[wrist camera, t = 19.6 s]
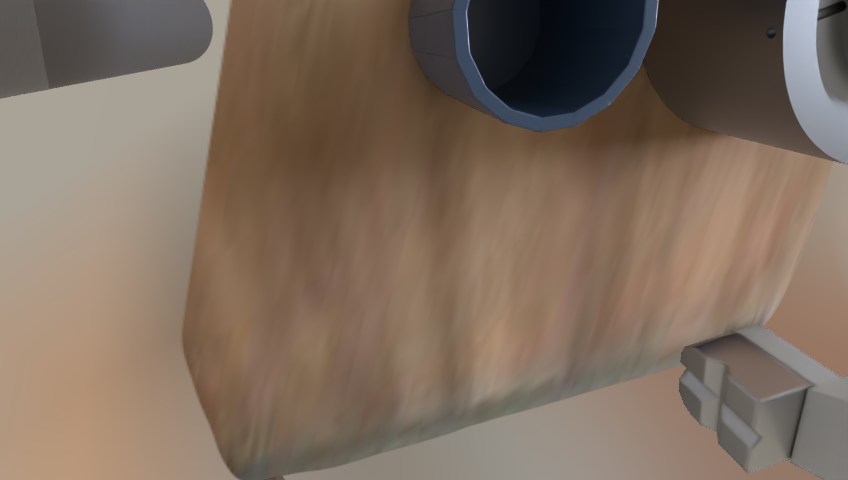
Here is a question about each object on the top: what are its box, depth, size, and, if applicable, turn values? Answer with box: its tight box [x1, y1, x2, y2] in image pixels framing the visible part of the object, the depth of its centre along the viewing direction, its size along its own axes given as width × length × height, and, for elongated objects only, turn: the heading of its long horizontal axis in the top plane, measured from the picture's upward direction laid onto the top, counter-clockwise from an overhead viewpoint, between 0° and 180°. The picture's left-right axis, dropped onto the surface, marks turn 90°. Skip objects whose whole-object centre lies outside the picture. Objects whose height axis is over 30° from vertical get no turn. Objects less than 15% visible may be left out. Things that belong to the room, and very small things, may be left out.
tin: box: [409, 0, 658, 132], centre depth 29 cm, size 11×11×14 cm
